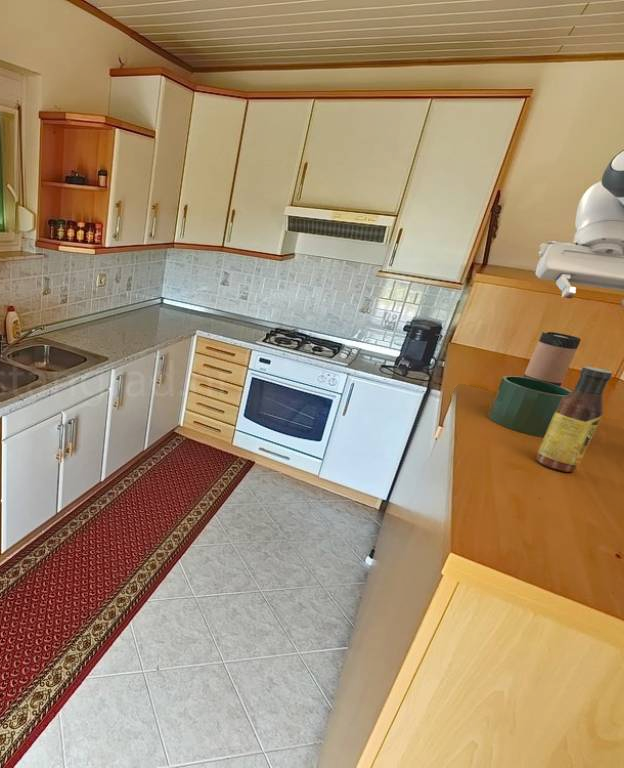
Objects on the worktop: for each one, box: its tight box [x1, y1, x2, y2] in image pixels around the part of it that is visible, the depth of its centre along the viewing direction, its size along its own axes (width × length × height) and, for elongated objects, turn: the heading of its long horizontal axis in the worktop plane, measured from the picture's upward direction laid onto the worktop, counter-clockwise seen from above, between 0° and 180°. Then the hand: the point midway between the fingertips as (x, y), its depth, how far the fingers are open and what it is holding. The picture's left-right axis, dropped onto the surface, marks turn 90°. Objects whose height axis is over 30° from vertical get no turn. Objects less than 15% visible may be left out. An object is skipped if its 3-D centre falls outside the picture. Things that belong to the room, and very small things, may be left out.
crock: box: [487, 375, 573, 438], centre depth 114 cm, size 13×13×10 cm
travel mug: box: [522, 331, 582, 387], centre depth 125 cm, size 8×8×20 cm
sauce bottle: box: [536, 366, 613, 473], centre depth 92 cm, size 7×6×20 cm
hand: (598, 300), depth 96 cm, fingers open, 8 cm apart
